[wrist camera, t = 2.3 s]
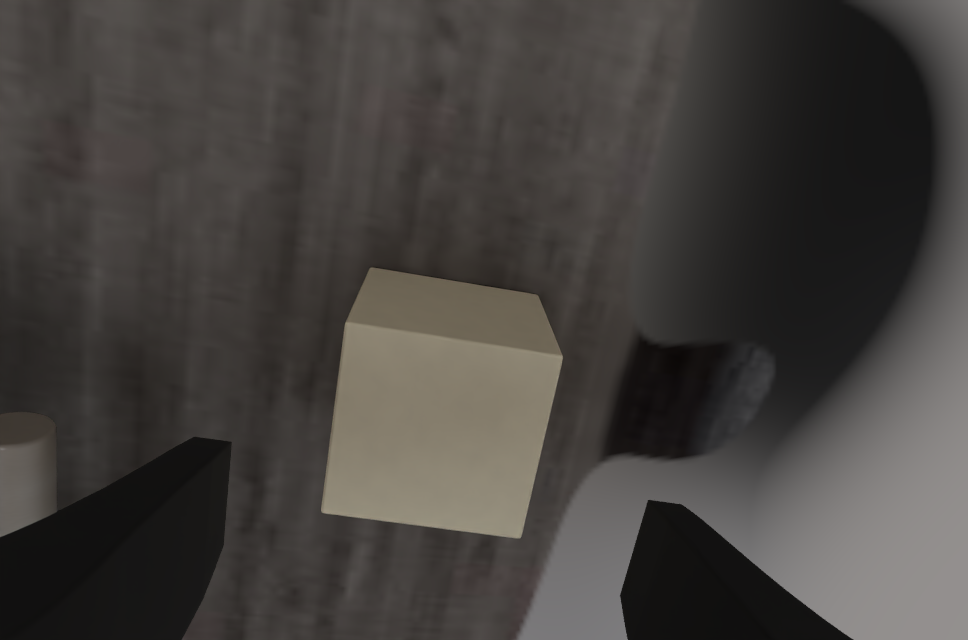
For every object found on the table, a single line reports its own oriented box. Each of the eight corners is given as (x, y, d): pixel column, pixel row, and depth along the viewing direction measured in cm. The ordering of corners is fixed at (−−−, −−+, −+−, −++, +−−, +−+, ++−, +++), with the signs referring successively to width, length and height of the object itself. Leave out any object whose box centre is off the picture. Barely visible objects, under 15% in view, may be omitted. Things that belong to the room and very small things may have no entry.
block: (538, 294, 19) (564, 356, 15) (506, 443, 20) (521, 540, 16) (369, 266, 18) (344, 321, 14) (348, 420, 20) (320, 513, 15)
